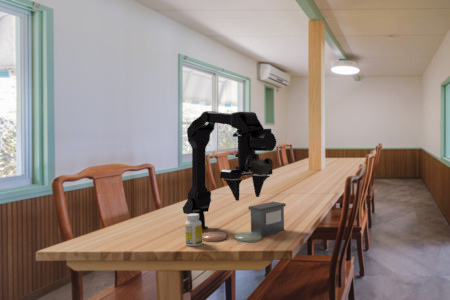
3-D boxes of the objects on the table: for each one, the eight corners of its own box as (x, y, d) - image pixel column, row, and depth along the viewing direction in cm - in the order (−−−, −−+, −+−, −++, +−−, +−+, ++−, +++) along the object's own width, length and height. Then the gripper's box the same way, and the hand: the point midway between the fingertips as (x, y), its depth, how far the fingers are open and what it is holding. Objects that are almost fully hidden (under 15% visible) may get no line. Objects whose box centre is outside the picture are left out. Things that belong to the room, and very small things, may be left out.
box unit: (249, 234, 132) (248, 206, 131) (273, 228, 140) (273, 201, 140) (261, 237, 127) (260, 208, 127) (286, 230, 136) (285, 203, 135)
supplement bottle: (202, 241, 125) (201, 212, 125) (202, 246, 119) (201, 216, 119) (186, 242, 125) (185, 213, 124) (185, 246, 119) (184, 216, 119)
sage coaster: (229, 238, 128) (229, 235, 128) (248, 233, 134) (248, 230, 134) (248, 243, 121) (248, 240, 121) (266, 238, 127) (266, 235, 127)
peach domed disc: (195, 238, 129) (195, 235, 129) (215, 233, 135) (214, 230, 135) (211, 243, 122) (211, 240, 122) (231, 237, 128) (231, 235, 128)
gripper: (243, 152, 108) (244, 205, 109) (284, 149, 120) (285, 197, 121) (218, 151, 117) (219, 201, 117) (259, 149, 129) (260, 194, 129)
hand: (247, 198), depth 121 cm, fingers open, 9 cm apart
